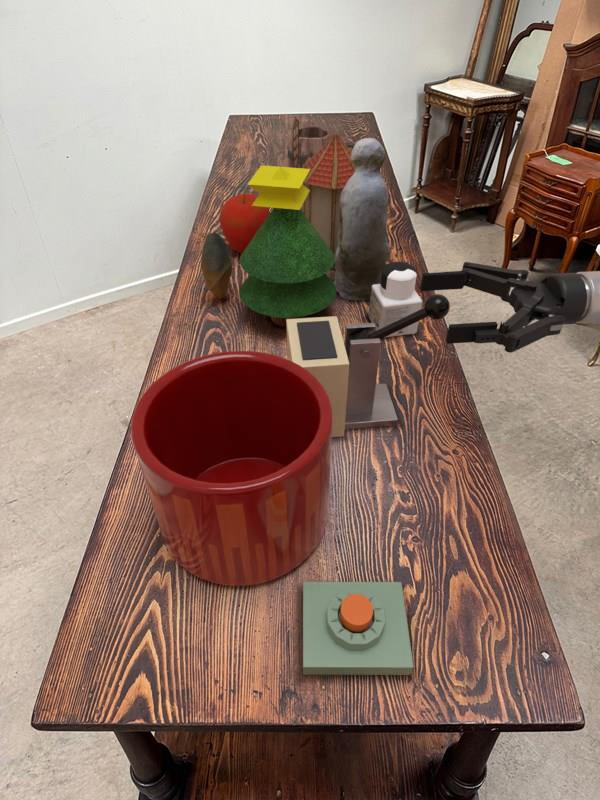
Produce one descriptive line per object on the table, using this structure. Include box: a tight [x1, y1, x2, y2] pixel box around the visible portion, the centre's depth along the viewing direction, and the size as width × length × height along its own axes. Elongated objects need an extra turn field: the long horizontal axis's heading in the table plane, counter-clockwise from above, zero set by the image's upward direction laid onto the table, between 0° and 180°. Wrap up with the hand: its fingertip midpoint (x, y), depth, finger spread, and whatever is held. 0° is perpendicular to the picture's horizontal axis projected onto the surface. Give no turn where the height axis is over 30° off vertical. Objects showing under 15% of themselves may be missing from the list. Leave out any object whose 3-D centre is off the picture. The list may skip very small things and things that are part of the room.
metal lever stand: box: [344, 322, 399, 430], centre depth 85 cm, size 12×9×16 cm
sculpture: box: [333, 137, 391, 302], centre depth 109 cm, size 11×14×30 cm
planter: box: [130, 350, 333, 587], centre depth 69 cm, size 23×23×20 cm
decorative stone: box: [200, 232, 233, 301], centre depth 111 cm, size 10×6×15 cm, turn 173°
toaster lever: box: [350, 293, 451, 340], centre depth 80 cm, size 15×4×4 cm, turn 96°
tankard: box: [287, 125, 356, 214], centre depth 142 cm, size 24×17×20 cm
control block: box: [302, 581, 414, 676], centre depth 62 cm, size 12×10×4 cm
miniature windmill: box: [292, 117, 355, 271], centre depth 121 cm, size 24×20×30 cm
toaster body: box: [286, 315, 349, 438], centre depth 85 cm, size 8×12×15 cm, turn 6°
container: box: [368, 261, 423, 339], centre depth 104 cm, size 8×8×13 cm
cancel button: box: [340, 594, 373, 632], centre depth 60 cm, size 4×4×2 cm
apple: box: [218, 192, 271, 254], centre depth 127 cm, size 12×12×14 cm
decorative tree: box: [239, 165, 337, 328], centre depth 101 cm, size 19×19×30 cm
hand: (434, 306), depth 78 cm, fingers open, 13 cm apart
